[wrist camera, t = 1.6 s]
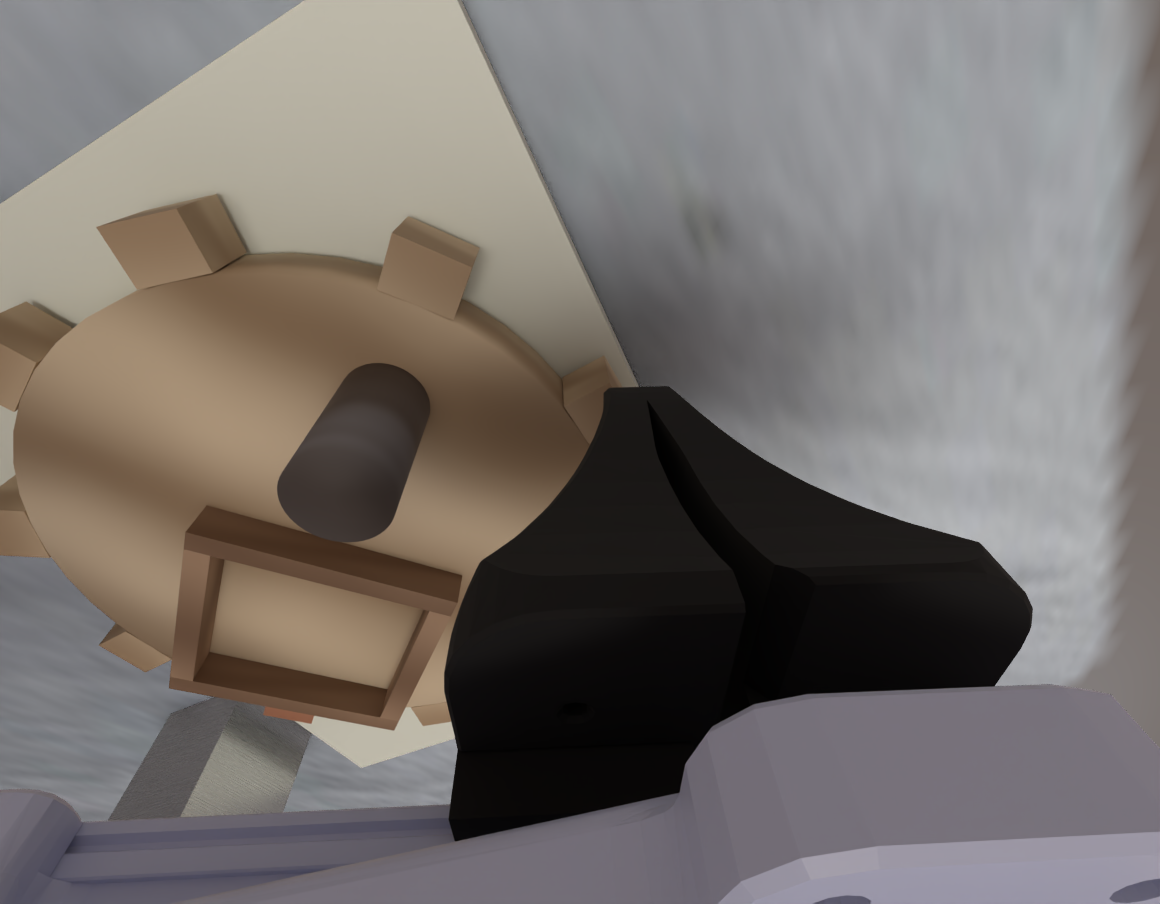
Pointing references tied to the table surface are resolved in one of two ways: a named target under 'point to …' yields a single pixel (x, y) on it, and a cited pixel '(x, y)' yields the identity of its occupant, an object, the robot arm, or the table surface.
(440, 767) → the table surface
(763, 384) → the table surface
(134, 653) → the sprocket disc
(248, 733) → the copper-capped metal cube
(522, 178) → the index plate
